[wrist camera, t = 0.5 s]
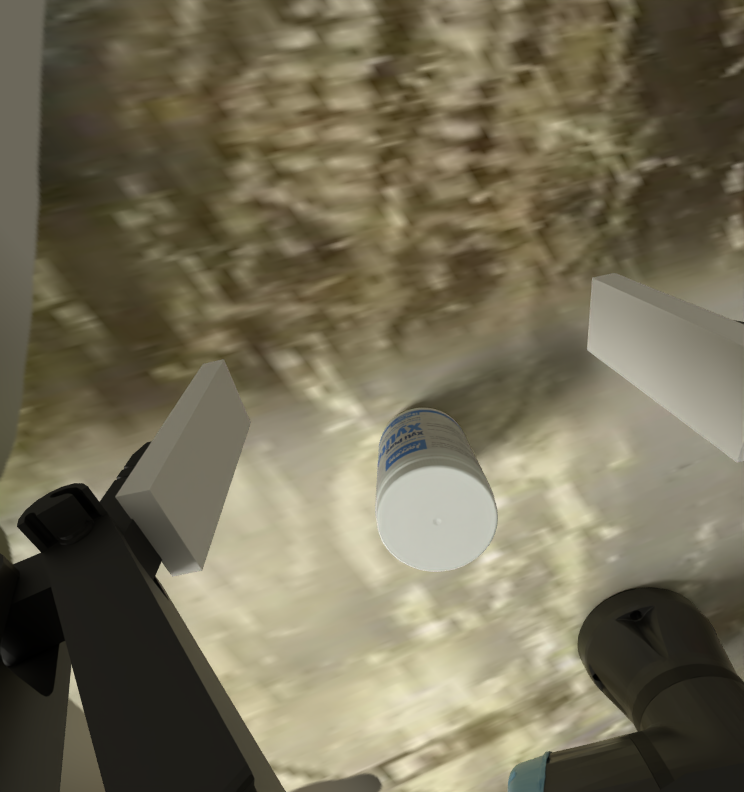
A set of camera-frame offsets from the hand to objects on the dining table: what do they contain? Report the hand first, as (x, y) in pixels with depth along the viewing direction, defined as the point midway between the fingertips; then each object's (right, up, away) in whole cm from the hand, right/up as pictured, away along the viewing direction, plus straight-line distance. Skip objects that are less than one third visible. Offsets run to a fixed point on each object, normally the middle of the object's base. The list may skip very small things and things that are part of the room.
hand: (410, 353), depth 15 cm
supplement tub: (+4, -7, +30) cm, 32 cm away
